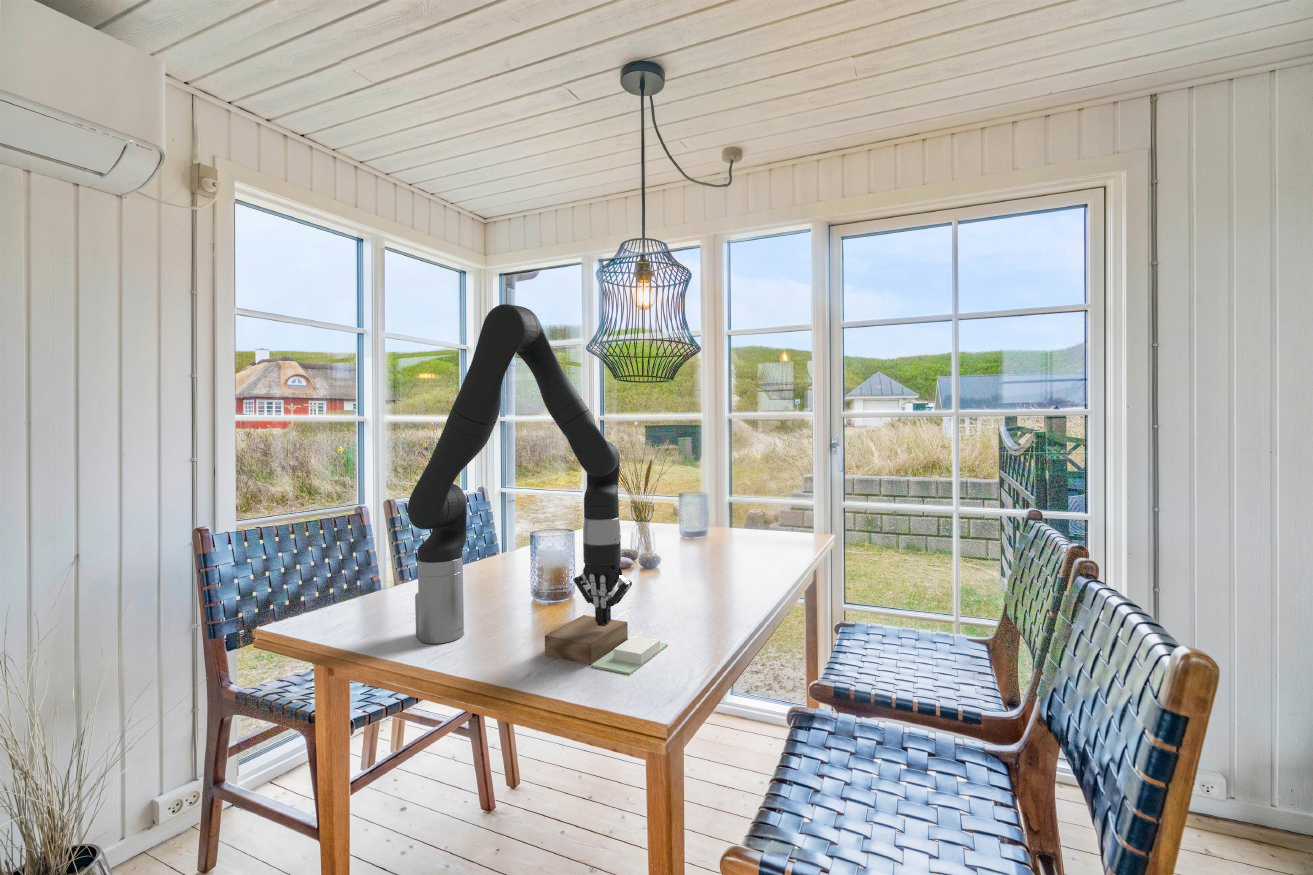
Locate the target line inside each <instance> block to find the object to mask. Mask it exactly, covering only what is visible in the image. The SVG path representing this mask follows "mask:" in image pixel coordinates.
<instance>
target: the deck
mask: <svg viewBox="0 0 1313 875" xmlns="http://www.w3.org/2000/svg"><path fill="white" fill-rule="evenodd" d="M628 633H629V632H628V621H623V620H618V619H612V618H611V621H610V622H609V624H608V625H606V626H598V625H597V622H596V620H595V616H591V615H586V614H583V615H581V616H579V617H577V618H576V619H574V620H571V621H570V622H568V623H566V624H564V625H562V626H560V627H558V628H556V629H554V630H552V631H551V632H548V633H547V634H544V656H547V657H552V658H556V659H557V658H558V659H562V660H567V661H571V662H577V663H580V664H581V663H583V664H588V665H590V666H591V665H592V664H593V663H595V662H596V661H598V660H599V659H601V658H602V657H604V656H605V655H607V654H608V653H610V652H611V651H613V650H614V649H615V648H616V647H618V646H619V645H621V644H622V643H624V642H625V641H627V640H628V639H629V637H628V636H629V635H628Z"/></svg>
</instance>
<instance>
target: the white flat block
mask: <svg viewBox="0 0 1313 875" xmlns="http://www.w3.org/2000/svg"><path fill="white" fill-rule="evenodd" d="M660 642H661V640H659V639H654V638H649V637H645V636H644V637H642V636H636V635H633V636H631V637H629V638H628V640H627V641H625V642H624V643H622V644H621V645H619V646H618V647H616V648H615V649H614V659H615V660H620V661H625V662H631V663H636V664H643V663H644V662H645V661H646V660H648V659H649V658H650V657H652V656H653V655H654V654H656V653H657V652H658V651H659V650H660Z"/></svg>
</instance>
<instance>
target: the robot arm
mask: <svg viewBox="0 0 1313 875" xmlns="http://www.w3.org/2000/svg"><path fill="white" fill-rule="evenodd" d="M482 323H483V324H482V327H481V329H480V333H479V337H478V339H477V343H476V347H475V351H474V353H473V356H472V361H471V362H470V365H469V368H468V370H467V372H466V375H465V377H464V379H463V382H462V384H461V386H460V389H459V392H458V394H457V396H456V398H455V400H454V403H453V405H452V407H451V410H450V411H449V414H448V417H447V418H446V422H445V425H444V427H443V430H442V432H441V435H440V437H439V438H438V441H437V444H436V445H435V447H434V449H433V452H432V454H431V457H430V458H429V461H428V463H427V465H426V467H425V468H424V470H423V472H422V474H421V476H420V477H419V479H418V481H417V483H416V485H415V487H414V488H413V490H412V492H411V494H410V496H409V498H408V503H407V516H408V519H409V522H410V523H411V524H412V526H414V527H415V528H417V529H420V530H431V533H430V535H429V536H428V538H427V539H425V540H424V542H422V543H421V544H420V545H419V546H418V547H417V551H416V553H417V555H416V556H417V587H418V588H417V589H418V590H417V591H418V592H416V594H414V600H415V602H414V605H415V606H414V608H415V610H414V611H415V613H414V614H415V638H417V639H418V640H419V641H420V642H421V643H424V644H425V643H426V644H433V645H434V644H435V645H436V644H444V643H448V642H453V641H456V640H459V639H460V638H462V637H463V636H464V635H465V620H464V617H465V615H464V614H465V613H464V612H465V610H464V608H465V607H464V568H463V567H464V564H463V562H464V561H463V551H464V550H463V549H464V547H465V544H466V540H467V525H468V524H467V523H468V520H467V519H468V518H467V516H468V508H467V506H468V505H467V499H466V496H465V493H464V491H463V489H462V488H461V487H460V486H459V485H457V484H455V483H454V482H455V481H456V479H457V477H458V476H459V475H460V473H461V472H462V471H463V470H464V469H465V467H467V466H468V465H469V463H470V462H471V461H473V459H475V457H477V456H478V454H479V453H480V452H481V450H483V448H485V446H486V444H487V443H488V442H489V439H490V437H491V435H492V433H493V432H494V431H493V430H494V428H495V426H496V424H497V421H498V419H499V416H500V412H501V405H502V404H501V403H502V386H503V380H504V378H505V375H506V372H507V370H508V368H509V366H510V364H511V362H512V360H513V358H514V356H515V355H518V356H519V357H520V358H521V359H522V361H523V362H524V363H525V364H526V365H527V368H528V369H529V371H530V372H531V373H532V376H533V377H534V379H535V381H536V383H537V386H538V389H539V391H540V396H541V398H542V401H543V403H544V405H545V408H546V409H547V411H548V413H549V415H550V416H551V418H552V419H553V421H554V422H555V424H556V425H557V428H559V430H560V431H561V433H562V434H563V435H564V436H565V437H566V440H567V442H568V444H569V446H570V448H571V450H572V451H573V454H574V456H575V457H576V460H577V461H578V463H579V464H580V466H581V467H582V469H583V470H584V471H585V472H586V489H585V492H584V497H583V517H584V518H583V528H582V540H583V541H582V542H583V544H582V545H583V548H582V549H583V551H582V552H583V554H582V555H583V563H584V566H583V570H582V573H581V574H580V575H578V576H576V577H574V578H573V582H574V584H575V585H576V587H577V588H578V590H579V591H580V593H581V595H582V596H583V599H584V600H585V601H586V603H588V604H592V605H593V606H594V610H595V611H594V614H595V615H594V617H595V620H596V622H597V625H598V626H606V625H608V624H609V622H610V621H611V619H612V612H611V611H612V609H611V608H612V607H614V606H615V605H617V604H619V603H620V602H621V600H622V599H623V598H624V597H625V595H627V594H626V593H628V591H629V590H630V588H631V587H632V585H633V582H632V581H631V579H630V580H627V579H626V578H625V576H623V571H622V569H621V562H622V561H621V560H622V553H621V551H622V548H621V546H622V544H621V538H622V535H621V525H620V524H621V522H620V507H619V506H620V505H619V504H620V502H619V491H618V490H619V484H620V483H619V481H620V467H621V466H620V453H619V450H618V448H617V446H615V445H614V444H613V443H612V442H610V441H607V439H606V437H605V436H604V435H603V434H602V432H601V430H600V429H599V427H598V426H597V424H596V419H595V418H594V415H593V414H592V412H591V411H590V409H589V407H588V406H587V404H586V403H585V401H584V400H583V399H582V396H581V395H580V394H579V392H578V391H577V389H576V388H575V386H574V385H573V384H572V382H571V381H570V378H569V377H568V376H567V374H566V372H565V371H564V368H563V367H562V365H561V363H560V361H559V360H558V357H557V356H556V354H555V351H554V350H553V348H552V346H551V344H550V341H549V339H548V337H547V335H546V332H545V330H544V328H543V326H542V324H541V322H540V320H539V319H538V316H537V315H536V314H535V313H534V312H533V311H532V310H531V309H529V308H527V307H525V306H520V305H516V304H515V305H514V304H510V303H509V304H508V303H503V304H499V305H496V306H495V307H493V308H492V309H491V310H489V312H488V313H487V315H486V317H485V319H484V321H483V322H482ZM616 584H617V591H616V592H615V594H614V595H613V593H614V587H615V586H616Z"/></svg>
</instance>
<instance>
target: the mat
mask: <svg viewBox="0 0 1313 875" xmlns="http://www.w3.org/2000/svg"><path fill="white" fill-rule="evenodd" d="M668 646H669V644H668V643H666V642H661V641H660V650H659V651H658V652H657V653H656V654H654V655H653V656H652V657H650V658H649V659H648V660H646V661H645V662H644V663H643V664H636V663H631V662H625V661H620V660H615V659H614V650H613V651H611V652H610V653H608V654H607V655H605V656H604V657H602V658H601V659H599V660H598V661H596V662H595V663H593V664H592V665H591V664H590V667H591V668H595V669H600V670H603V671H609V672H614V673H620V674H624V675H628V676H629V675H630V676H631V675H632V674H633V673H634V672H636V671H637V670H639V669H640V668H641V667H642V666H644V665H645V664H646V663H648V662H649V661H650V660H652V659H653V658H654V657H655V656H657V655H658V654H660V653H661V651H664V649H666V648H667V647H668Z"/></svg>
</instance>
